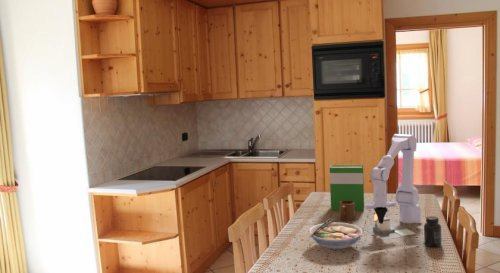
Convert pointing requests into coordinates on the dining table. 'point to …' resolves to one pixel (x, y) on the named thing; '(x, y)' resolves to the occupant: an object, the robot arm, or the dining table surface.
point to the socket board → (389, 231)
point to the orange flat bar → (375, 217)
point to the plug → (384, 224)
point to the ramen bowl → (335, 234)
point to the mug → (347, 211)
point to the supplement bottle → (432, 232)
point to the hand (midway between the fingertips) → (380, 223)
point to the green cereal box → (347, 185)
